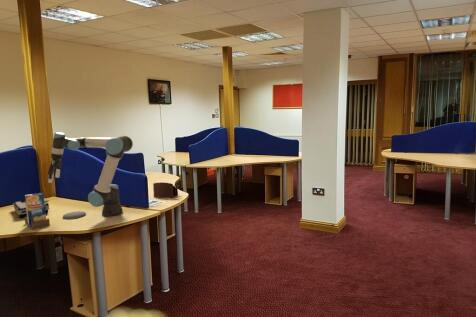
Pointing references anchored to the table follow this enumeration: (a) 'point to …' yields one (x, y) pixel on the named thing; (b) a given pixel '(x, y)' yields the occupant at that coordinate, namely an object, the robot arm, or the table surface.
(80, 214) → the slate coaster
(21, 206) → the office tray
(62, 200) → the table surface
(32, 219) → the beverage box
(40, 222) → the walnut slot
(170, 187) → the letter holder
